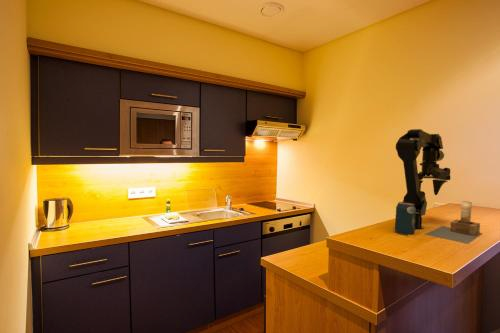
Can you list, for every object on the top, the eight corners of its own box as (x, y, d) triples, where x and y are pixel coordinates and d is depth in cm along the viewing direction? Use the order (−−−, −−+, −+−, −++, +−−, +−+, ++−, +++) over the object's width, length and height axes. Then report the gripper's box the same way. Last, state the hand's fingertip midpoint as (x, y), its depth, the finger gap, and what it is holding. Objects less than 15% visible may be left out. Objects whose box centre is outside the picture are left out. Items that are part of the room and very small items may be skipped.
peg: (464, 233, 115) (467, 202, 114) (457, 231, 118) (460, 201, 118) (471, 233, 116) (473, 202, 115) (464, 231, 119) (466, 201, 118)
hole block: (474, 236, 111) (475, 226, 111) (450, 231, 117) (451, 221, 117) (479, 232, 117) (480, 223, 116) (456, 228, 123) (456, 219, 122)
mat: (468, 244, 101) (468, 243, 101) (424, 235, 112) (424, 234, 112) (482, 234, 116) (482, 233, 116) (442, 226, 126) (442, 225, 126)
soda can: (417, 236, 110) (419, 205, 110) (397, 234, 112) (399, 204, 111) (410, 231, 117) (412, 202, 117) (392, 230, 119) (394, 201, 118)
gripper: (425, 161, 122) (423, 197, 123) (462, 162, 125) (459, 197, 126) (406, 160, 133) (404, 193, 134) (441, 161, 136) (438, 193, 137)
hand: (427, 194), depth 133 cm, fingers open, 9 cm apart
